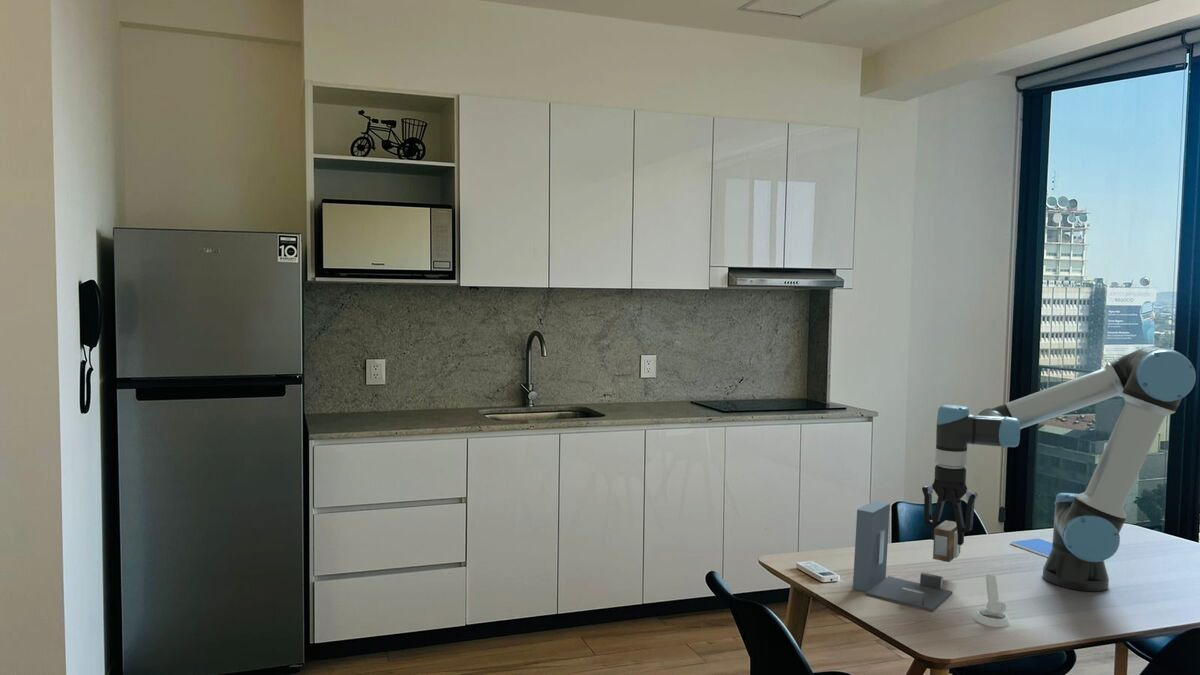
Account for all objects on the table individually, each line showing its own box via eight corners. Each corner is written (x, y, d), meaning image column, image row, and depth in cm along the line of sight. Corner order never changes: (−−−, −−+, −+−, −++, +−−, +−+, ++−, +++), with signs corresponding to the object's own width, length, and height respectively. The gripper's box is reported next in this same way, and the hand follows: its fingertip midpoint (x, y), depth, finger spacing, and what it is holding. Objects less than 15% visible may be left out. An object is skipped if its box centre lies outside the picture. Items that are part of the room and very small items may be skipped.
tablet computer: (1096, 561, 249) (1096, 557, 249) (1065, 566, 244) (1065, 561, 244) (1038, 542, 267) (1038, 537, 267) (1008, 545, 262) (1008, 541, 262)
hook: (989, 585, 210) (1010, 577, 204) (997, 636, 203) (1018, 629, 197) (962, 579, 208) (982, 571, 202) (969, 631, 201) (990, 624, 196)
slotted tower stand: (952, 593, 218) (957, 514, 216) (932, 611, 205) (937, 527, 204) (873, 574, 230) (877, 499, 228) (849, 590, 217) (854, 511, 216)
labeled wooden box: (960, 553, 231) (961, 522, 230) (948, 562, 222) (949, 531, 222) (944, 550, 233) (945, 520, 233) (932, 559, 225) (933, 528, 224)
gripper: (989, 467, 224) (985, 557, 226) (921, 458, 235) (917, 544, 236) (981, 472, 218) (977, 565, 220) (912, 463, 229) (908, 551, 230)
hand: (946, 554), depth 228 cm, fingers closed on labeled wooden box, 4 cm apart
